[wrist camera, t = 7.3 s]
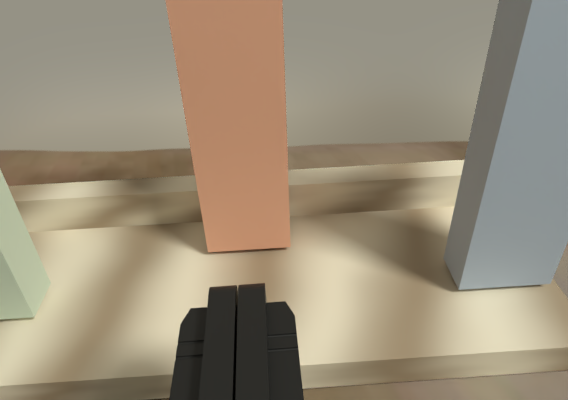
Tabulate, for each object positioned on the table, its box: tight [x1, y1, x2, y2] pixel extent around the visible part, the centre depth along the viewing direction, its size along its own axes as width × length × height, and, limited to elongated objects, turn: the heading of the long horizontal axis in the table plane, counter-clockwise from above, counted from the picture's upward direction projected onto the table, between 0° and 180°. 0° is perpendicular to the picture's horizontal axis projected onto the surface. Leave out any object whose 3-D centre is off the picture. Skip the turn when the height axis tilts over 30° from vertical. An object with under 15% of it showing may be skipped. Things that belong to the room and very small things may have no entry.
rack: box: [0, 160, 568, 400], centre depth 23 cm, size 27×12×4 cm, turn 93°
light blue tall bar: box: [443, 0, 568, 290], centre depth 18 cm, size 4×2×12 cm, turn 93°
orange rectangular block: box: [166, 0, 291, 252], centre depth 20 cm, size 4×2×12 cm, turn 93°
